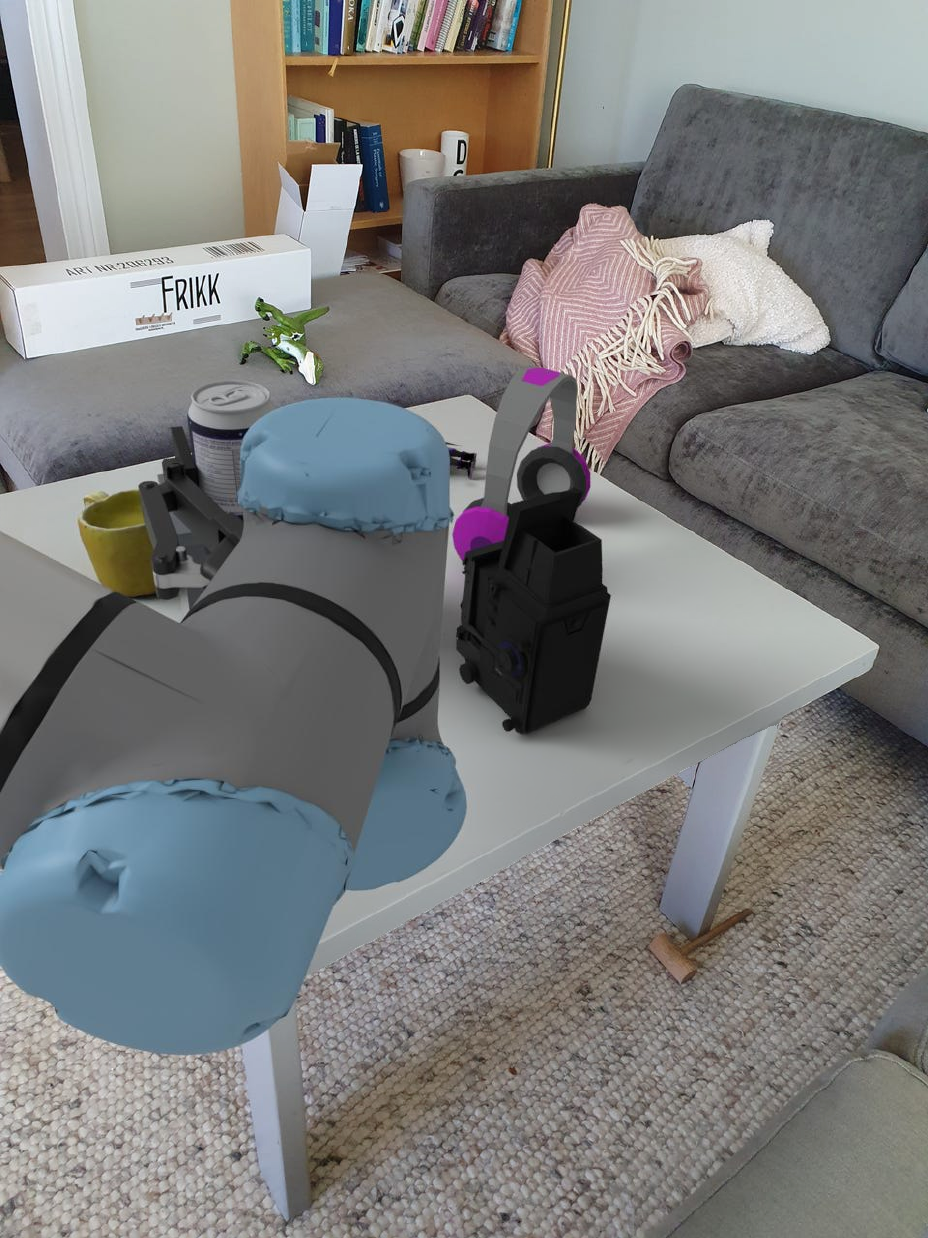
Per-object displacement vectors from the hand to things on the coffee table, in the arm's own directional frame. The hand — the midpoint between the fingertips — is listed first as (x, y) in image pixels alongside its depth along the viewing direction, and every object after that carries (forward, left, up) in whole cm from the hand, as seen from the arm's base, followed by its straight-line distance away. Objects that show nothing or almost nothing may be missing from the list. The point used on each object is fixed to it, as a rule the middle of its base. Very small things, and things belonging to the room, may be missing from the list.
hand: (224, 440), depth 65 cm
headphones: (+29, +27, -25) cm, 46 cm away
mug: (-13, +22, -25) cm, 36 cm away
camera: (+24, +2, -25) cm, 35 cm away
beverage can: (+1, -5, -7) cm, 8 cm away
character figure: (+18, +45, -25) cm, 55 cm away
